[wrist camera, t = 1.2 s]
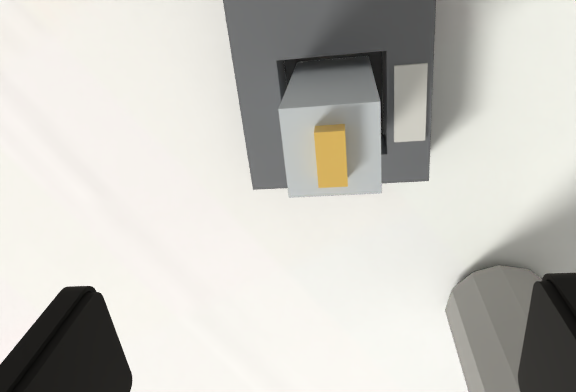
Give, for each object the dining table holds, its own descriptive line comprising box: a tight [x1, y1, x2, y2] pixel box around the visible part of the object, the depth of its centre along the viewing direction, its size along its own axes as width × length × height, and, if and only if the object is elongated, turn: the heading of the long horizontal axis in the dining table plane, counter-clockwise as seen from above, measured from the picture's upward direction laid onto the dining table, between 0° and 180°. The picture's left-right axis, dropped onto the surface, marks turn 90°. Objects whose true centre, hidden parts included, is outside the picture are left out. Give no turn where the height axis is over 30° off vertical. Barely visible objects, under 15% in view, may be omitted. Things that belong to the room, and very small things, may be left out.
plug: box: [278, 56, 382, 198], centre depth 22 cm, size 4×4×10 cm
